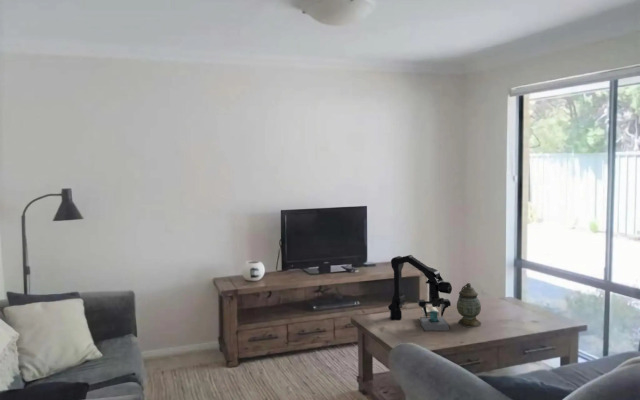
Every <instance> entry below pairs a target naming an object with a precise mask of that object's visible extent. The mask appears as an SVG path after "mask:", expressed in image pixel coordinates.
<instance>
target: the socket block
mask: <svg viewBox="0 0 640 400" xmlns="http://www.w3.org/2000/svg"><path fill="white" fill-rule="evenodd" d="M419 319H420V320H419V323H420V325H421V327H422V329H423V330H424V331H449V323H448V322H447V320H446V318H445V317H444V316H442V317H441V316H437V322H430V316H427V317H426V316H420V317H419Z"/></svg>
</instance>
